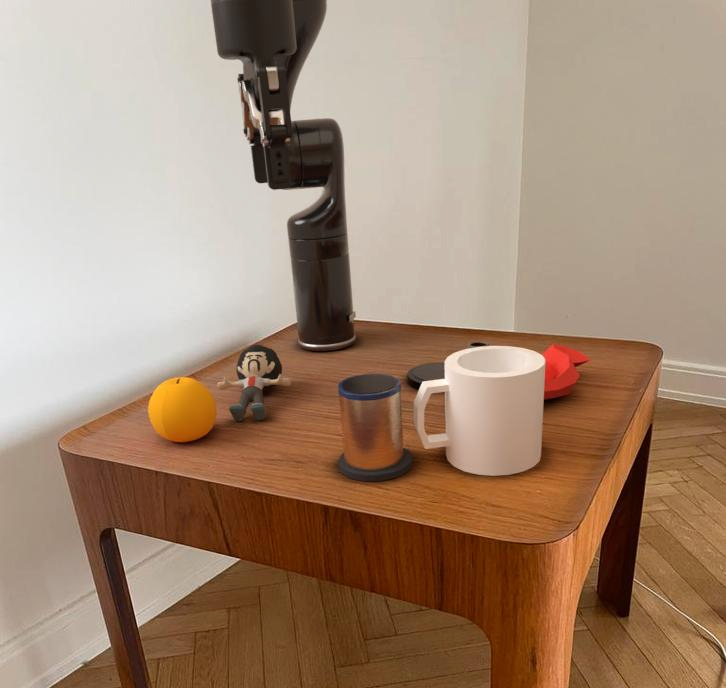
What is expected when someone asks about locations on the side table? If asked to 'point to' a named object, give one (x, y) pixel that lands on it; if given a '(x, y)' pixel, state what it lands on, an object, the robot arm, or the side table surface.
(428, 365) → the disc
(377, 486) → the side table surface
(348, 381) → the pot
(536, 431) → the mug
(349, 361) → the side table surface
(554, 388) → the animal figurine
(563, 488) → the side table surface
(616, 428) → the side table surface
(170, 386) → the orange
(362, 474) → the trivet
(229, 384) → the figurine
